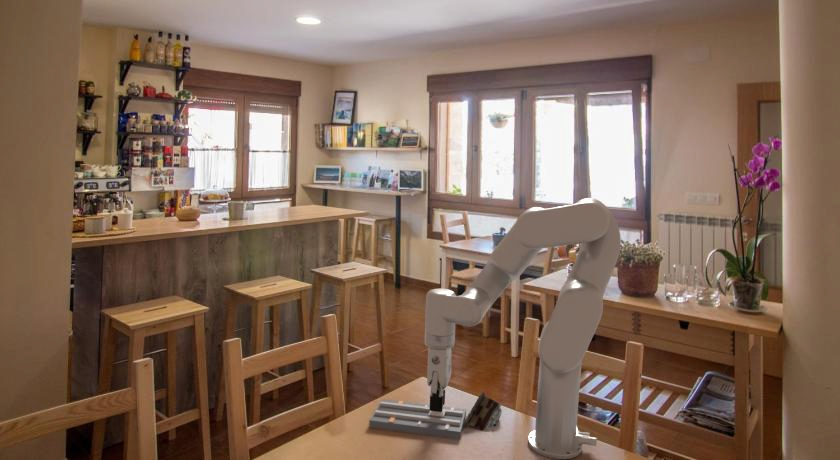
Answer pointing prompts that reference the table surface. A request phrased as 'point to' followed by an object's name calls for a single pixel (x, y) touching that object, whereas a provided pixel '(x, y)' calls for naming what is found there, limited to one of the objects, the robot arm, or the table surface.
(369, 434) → the table surface
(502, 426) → the table surface
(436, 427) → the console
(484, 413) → the chocolate cake
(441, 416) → the fader knob
